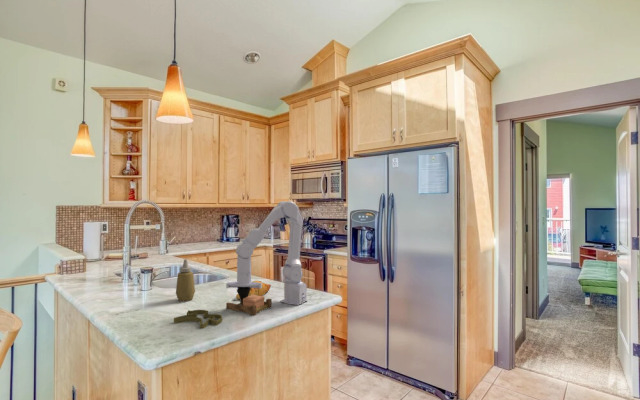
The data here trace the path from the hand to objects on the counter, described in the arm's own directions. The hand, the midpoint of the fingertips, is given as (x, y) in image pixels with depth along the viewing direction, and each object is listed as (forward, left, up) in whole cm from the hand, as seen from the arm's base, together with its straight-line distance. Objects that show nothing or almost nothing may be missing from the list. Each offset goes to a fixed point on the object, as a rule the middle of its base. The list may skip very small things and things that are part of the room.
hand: (244, 305), depth 139 cm
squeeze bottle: (+30, +4, -1) cm, 31 cm away
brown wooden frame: (-2, 0, -1) cm, 2 cm away
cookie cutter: (+4, +19, -2) cm, 20 cm away
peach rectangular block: (-5, 0, -1) cm, 5 cm away
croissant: (+9, -17, -2) cm, 19 cm away
